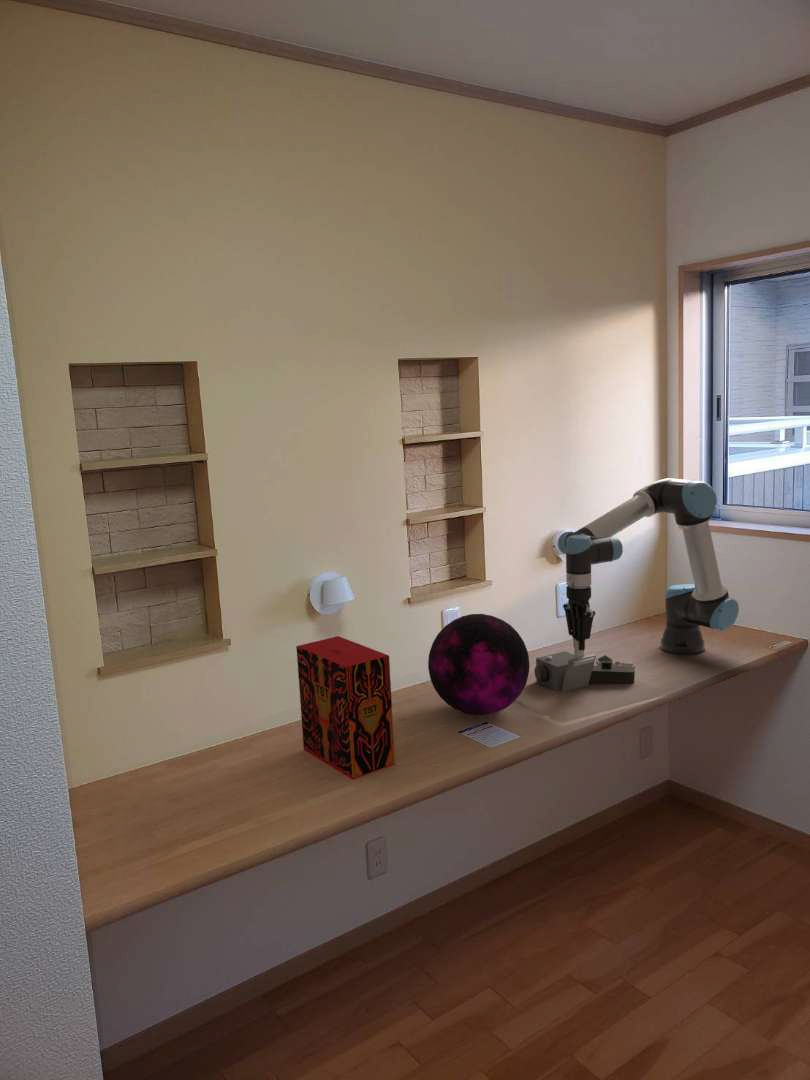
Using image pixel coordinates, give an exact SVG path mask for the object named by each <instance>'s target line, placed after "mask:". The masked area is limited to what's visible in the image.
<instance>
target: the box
mask: <svg viewBox="0 0 810 1080" xmlns="http://www.w3.org/2000/svg"><path fill="white" fill-rule="evenodd" d="M295 648H296V660H297V672H298V673H297V674H298V676H297V677H298V686H299V688H298V689H299V701H300V715H301V716H300V717H301V718H300V719H301V729H302V730H301V731H302V740H303V741H302V744H303V745H302V746H303V751H305V752H306V753H308V754H310V755H312V756H313V757H314V758H316V759H318V760H319V761H321V762H322V763H325V764H326V765H328V766H329V767H330V768H332V769H334V770H336V771H338V772H339V773H341V774H342V775H344V776H346V777H347V778H349V779H350V780H356V779H359V778H361V777H364V776H367V775H370V774H372V773H375V772H377V771H381V770H384V769H387V768H389V767H392V766H394V765H396V763H395V762H396V761H395V743H394V741H395V739H394V721H393V705H392V702H393V701H392V686H391V685H392V683H391V682H392V681H391V665H390V664H391V663H390V655H388V654H386V653H384V652H380V651H379V650H375V649H374V648H370V647H368V646H365V645H363V644H360V643H358V642H355V641H352V640H350V639H347V638H344V637H341V636H339V635H336V636H333V637H328V638H324V639H320V640H317V641H312V642H307V643H305V644H304V643H303V644H300V645H296V647H295Z"/></svg>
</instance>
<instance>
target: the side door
mask: <svg viewBox="0 0 810 1080" xmlns="http://www.w3.org/2000/svg"><path fill="white" fill-rule="evenodd" d="M596 659H597V655H596V653H591V654H587V655H584V656H582V657H578V658H573V659H569V661H568V665H567V669H566V673H565V677H564V680H563V684H562V688H561V691H560V692H561V693H565V692H568V691H571V690H577V689H581V688H585V687H587V686H589V685H590V684H589V680H590V676H591V673H592V669H593V665H594V663H596Z"/></svg>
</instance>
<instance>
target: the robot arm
mask: <svg viewBox="0 0 810 1080" xmlns="http://www.w3.org/2000/svg"><path fill="white" fill-rule="evenodd" d="M717 499H718V498H717V495H716V491H715V489H714V488H713V487H712V486H711V485H710V484H709V483H707V482H705V481H701V480H697V479H692V480H690V479H681V478H680V479H679V478H673V477H672V478H670V477H669V478H664V479H660V480H657V481H654V482H653V483H650V484H648V485H646V486H644V487H642V488H640V489H639V490H637V491H635V492H634V493H633V495H632V497H631V498H630V499H628V500H626V501H625V502H622V503H621V504H620V505H618V506H616V507H614V508H612V509H611V510H610V511H608V512H606V513H605V514H603V515H601V516H599V517H598V518H596V519H595V520H592V521H591V522H589V523H588V524H586V525H584V526H582V527H581V528H579V529H577V530H576V531H570V530H569V531H564V532H563V533H561V534H560V535H559V537H558V540H557V547H558V549H559V551H560V552H561V553H562V554H565V571H566V579H565V580H566V581H565V584H566V587H565V588H566V589H565V591H566V596H565V597H566V599H568V601H567V603H563V605H562V608H563V610H564V613H565V619H566V626H567V631H568V635H569V636H571V637H572V640H573V650H574V653H573V654H574V658H578V657H582V656H585V650H586V640H589V639H590V638H591V633H592V628H593V627H592V626H593V622H594V617H595V616H596V611H595V610H592V609H591V608H590V607H591V605H590V602H589V601H590V599H592V586H591V585H592V565H598V564H604V563H608V562H609V563H611V562H614V561H617V560H619V559H620V558H621V557H622V555H623V550H624V549H623V547H624V546H623V544H622V541H621V540H620V538H618V537H616V535H617V534H618V533H620V532H621V531H623V530H625V529H626V528H629V527H630V526H632V525H633V524H635V523H636V522H638V521H640V520H641V519H643V518H644V517H646V518H651V517H652V516H654V515H655V514H660V513H661V514H662V513H668V514H673V515H674V520H675V524H676V525H677V526H679V527H680V528H681V529H682V534H683V539H684V543H685V547H686V552H687V557H688V562H689V565H690V570H691V575H692V580H693V583H683V584H674V585H671V586H668V587H667V589H666V591H665V628H664V631H663V633H662V637H661V639H660V648H661V649H662V651H665V652H668V653H672V654H679V655H690V654H692V655H693V654H698V653H701V652H703V651H704V650H705V648H706V647H705V644H706V643H705V639H704V638H703V634H702V631H701V628H700V627H705V628H708V629H712V630H715V631H716V630H718V631H723V632H724V631H727V630H729V629H730V628H731V627H732V626H733V625H734V624H735V622H736V620H737V619H738V616H739V613H740V612H739V611H740V609H739V608H740V607H739V602H738V600H736V599H735V598H733V597H730V596H729V591H728V588H727V586H726V585H724V584H722V579H721V576H720V575H721V574H720V570H719V566H718V561H717V557H716V551H715V548H714V547H715V546H714V542H713V541H714V540H713V538H712V537H713V536H712V532H711V528H710V521H711V519H712V518H713V514H714V512H715V510H716V505H717V502H718V500H717Z"/></svg>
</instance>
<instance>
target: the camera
mask: <svg viewBox="0 0 810 1080" xmlns="http://www.w3.org/2000/svg"><path fill="white" fill-rule="evenodd" d="M635 668H636V666H635V664H634V662H632V661H626V662H620V661H614V660H613V658H611V657H609V656H608V655H606V654H604V655H603V656H601V657H598V658H595V662H594V665H593V669H592V673H591V676H590V680H589V684H588V685H632V684H634V683H635V677H636V676H635V673H636V671H635Z"/></svg>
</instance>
